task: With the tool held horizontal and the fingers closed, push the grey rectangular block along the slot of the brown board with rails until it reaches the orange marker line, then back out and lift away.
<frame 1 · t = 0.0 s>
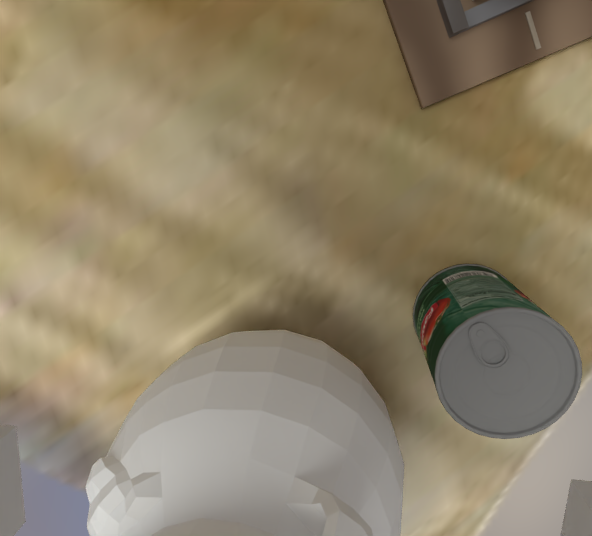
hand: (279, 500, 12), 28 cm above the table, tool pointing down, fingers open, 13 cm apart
canned tomato: (464, 312, 40), on the table
pitcher: (278, 404, 43), on the table
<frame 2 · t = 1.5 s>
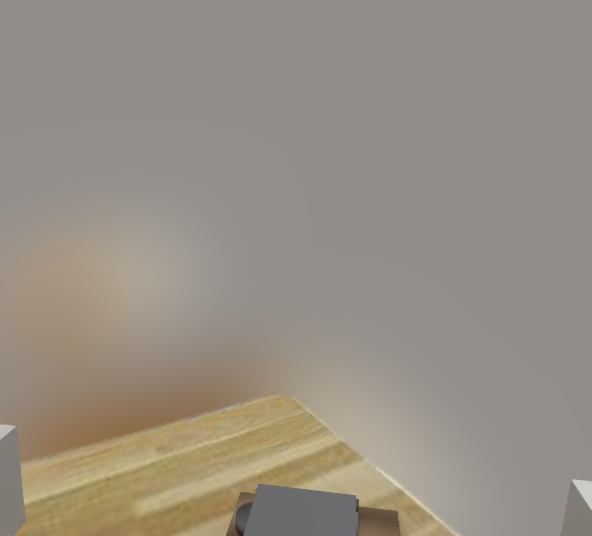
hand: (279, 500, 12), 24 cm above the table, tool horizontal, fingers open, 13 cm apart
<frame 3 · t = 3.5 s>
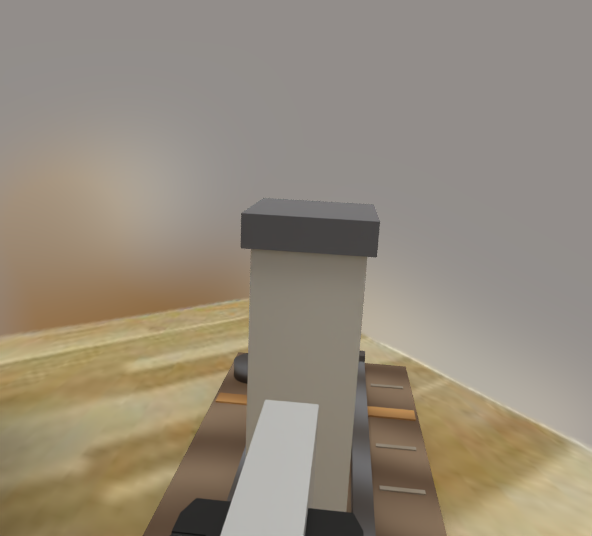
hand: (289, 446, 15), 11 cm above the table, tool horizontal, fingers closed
grey rectangular block: (304, 393, 21), point 9 cm above the table, slide at 0.0 cm
brown board with rails: (306, 474, 30), on the table
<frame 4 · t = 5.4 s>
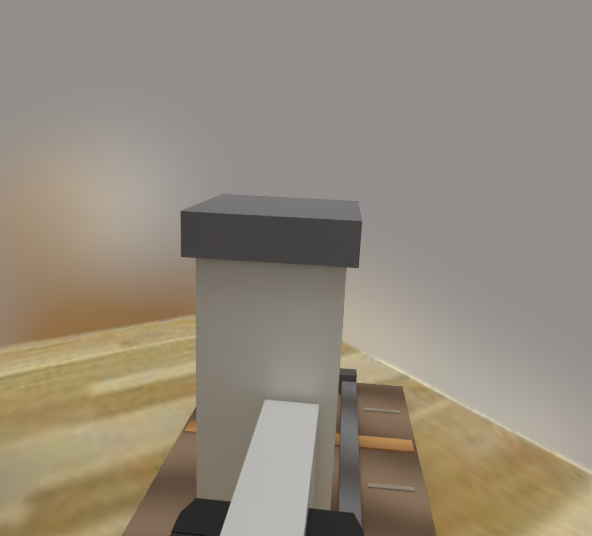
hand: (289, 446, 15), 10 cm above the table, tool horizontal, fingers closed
grey rectangular block: (273, 436, 17), point 9 cm above the table, slide at 0.3 cm, touching gripper
brown board with rails: (286, 521, 26), on the table
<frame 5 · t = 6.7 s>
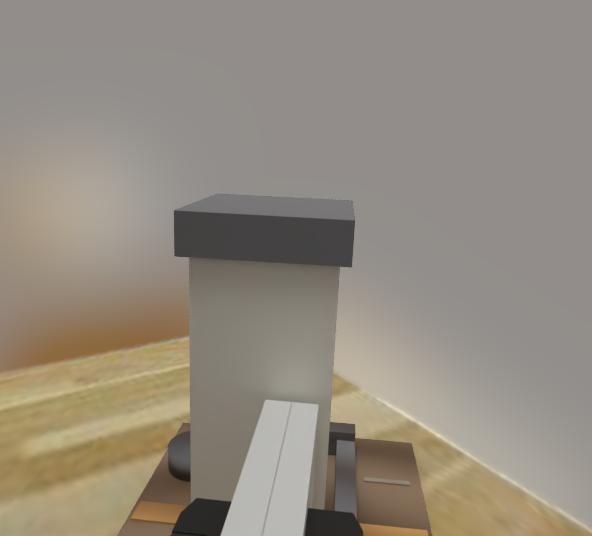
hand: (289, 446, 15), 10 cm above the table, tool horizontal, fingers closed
grey rectangular block: (267, 435, 17), point 9 cm above the table, slide at 7.9 cm, touching gripper
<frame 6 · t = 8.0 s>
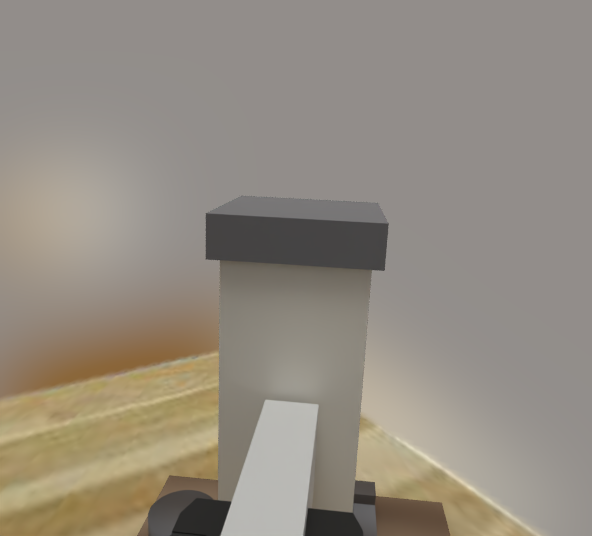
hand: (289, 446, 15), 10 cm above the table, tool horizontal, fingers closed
grey rectangular block: (292, 438, 17), point 9 cm above the table, slide at 13.0 cm, touching gripper
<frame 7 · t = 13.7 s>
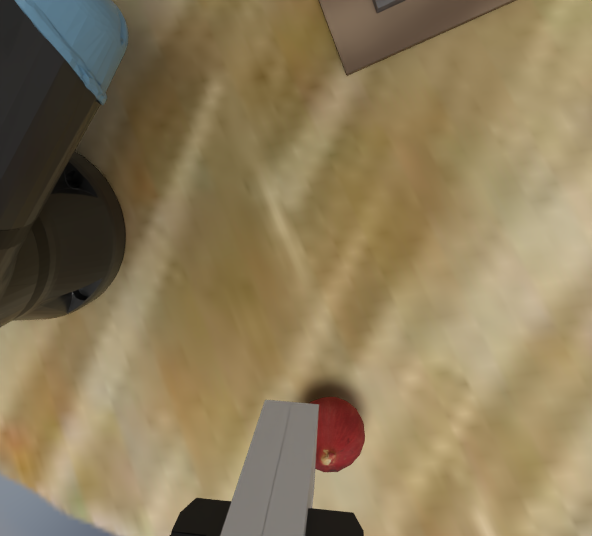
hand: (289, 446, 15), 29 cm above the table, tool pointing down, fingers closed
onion: (331, 410, 47), on the table
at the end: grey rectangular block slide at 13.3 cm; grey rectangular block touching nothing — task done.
